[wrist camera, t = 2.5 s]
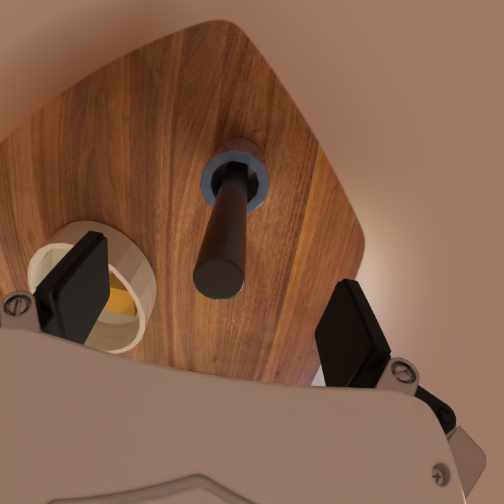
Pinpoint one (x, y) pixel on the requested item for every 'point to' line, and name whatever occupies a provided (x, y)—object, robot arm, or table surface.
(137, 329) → the bowl
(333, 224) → the table surface
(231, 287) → the stirring stick
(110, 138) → the table surface
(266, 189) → the holder
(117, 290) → the mustard cube
